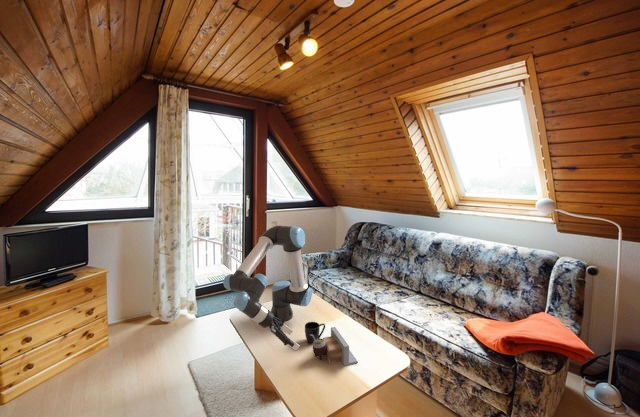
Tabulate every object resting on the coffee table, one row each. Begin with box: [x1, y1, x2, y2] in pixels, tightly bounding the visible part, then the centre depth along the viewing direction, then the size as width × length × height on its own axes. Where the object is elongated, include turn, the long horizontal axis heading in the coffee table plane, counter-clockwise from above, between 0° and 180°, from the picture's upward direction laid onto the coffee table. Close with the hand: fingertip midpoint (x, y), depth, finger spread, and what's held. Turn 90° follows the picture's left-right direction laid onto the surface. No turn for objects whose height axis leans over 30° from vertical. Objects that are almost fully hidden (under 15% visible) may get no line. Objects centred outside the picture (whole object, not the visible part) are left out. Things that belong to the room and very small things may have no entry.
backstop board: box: [330, 326, 358, 367], centre depth 151 cm, size 19×7×10 cm, turn 18°
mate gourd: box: [311, 335, 327, 361], centre depth 145 cm, size 8×8×15 cm
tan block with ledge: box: [322, 335, 342, 365], centre depth 149 cm, size 12×6×7 cm, turn 18°
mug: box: [304, 321, 326, 345], centre depth 162 cm, size 8×12×10 cm
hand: (294, 340), depth 142 cm, fingers open, 13 cm apart
